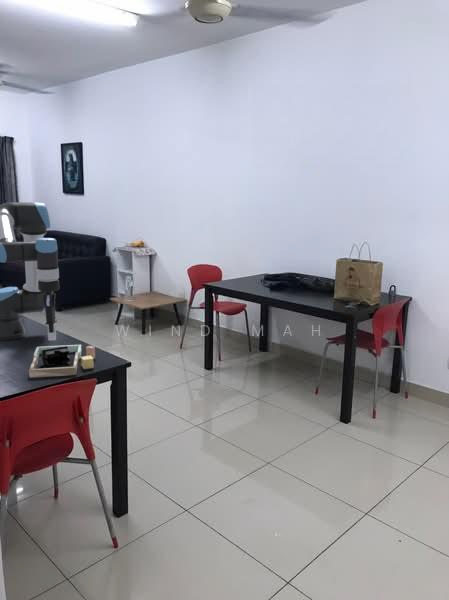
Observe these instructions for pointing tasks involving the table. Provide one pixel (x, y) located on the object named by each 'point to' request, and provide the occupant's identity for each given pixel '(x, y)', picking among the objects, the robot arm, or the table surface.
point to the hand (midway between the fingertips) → (52, 339)
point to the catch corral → (70, 347)
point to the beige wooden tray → (52, 369)
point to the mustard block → (87, 362)
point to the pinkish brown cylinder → (90, 351)
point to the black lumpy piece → (55, 357)
